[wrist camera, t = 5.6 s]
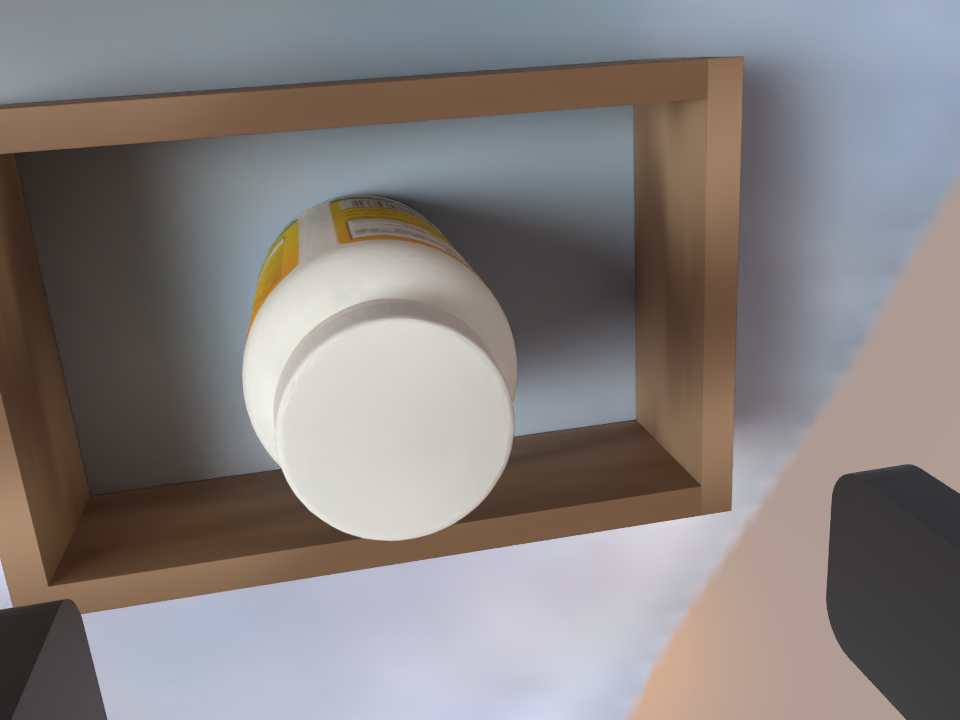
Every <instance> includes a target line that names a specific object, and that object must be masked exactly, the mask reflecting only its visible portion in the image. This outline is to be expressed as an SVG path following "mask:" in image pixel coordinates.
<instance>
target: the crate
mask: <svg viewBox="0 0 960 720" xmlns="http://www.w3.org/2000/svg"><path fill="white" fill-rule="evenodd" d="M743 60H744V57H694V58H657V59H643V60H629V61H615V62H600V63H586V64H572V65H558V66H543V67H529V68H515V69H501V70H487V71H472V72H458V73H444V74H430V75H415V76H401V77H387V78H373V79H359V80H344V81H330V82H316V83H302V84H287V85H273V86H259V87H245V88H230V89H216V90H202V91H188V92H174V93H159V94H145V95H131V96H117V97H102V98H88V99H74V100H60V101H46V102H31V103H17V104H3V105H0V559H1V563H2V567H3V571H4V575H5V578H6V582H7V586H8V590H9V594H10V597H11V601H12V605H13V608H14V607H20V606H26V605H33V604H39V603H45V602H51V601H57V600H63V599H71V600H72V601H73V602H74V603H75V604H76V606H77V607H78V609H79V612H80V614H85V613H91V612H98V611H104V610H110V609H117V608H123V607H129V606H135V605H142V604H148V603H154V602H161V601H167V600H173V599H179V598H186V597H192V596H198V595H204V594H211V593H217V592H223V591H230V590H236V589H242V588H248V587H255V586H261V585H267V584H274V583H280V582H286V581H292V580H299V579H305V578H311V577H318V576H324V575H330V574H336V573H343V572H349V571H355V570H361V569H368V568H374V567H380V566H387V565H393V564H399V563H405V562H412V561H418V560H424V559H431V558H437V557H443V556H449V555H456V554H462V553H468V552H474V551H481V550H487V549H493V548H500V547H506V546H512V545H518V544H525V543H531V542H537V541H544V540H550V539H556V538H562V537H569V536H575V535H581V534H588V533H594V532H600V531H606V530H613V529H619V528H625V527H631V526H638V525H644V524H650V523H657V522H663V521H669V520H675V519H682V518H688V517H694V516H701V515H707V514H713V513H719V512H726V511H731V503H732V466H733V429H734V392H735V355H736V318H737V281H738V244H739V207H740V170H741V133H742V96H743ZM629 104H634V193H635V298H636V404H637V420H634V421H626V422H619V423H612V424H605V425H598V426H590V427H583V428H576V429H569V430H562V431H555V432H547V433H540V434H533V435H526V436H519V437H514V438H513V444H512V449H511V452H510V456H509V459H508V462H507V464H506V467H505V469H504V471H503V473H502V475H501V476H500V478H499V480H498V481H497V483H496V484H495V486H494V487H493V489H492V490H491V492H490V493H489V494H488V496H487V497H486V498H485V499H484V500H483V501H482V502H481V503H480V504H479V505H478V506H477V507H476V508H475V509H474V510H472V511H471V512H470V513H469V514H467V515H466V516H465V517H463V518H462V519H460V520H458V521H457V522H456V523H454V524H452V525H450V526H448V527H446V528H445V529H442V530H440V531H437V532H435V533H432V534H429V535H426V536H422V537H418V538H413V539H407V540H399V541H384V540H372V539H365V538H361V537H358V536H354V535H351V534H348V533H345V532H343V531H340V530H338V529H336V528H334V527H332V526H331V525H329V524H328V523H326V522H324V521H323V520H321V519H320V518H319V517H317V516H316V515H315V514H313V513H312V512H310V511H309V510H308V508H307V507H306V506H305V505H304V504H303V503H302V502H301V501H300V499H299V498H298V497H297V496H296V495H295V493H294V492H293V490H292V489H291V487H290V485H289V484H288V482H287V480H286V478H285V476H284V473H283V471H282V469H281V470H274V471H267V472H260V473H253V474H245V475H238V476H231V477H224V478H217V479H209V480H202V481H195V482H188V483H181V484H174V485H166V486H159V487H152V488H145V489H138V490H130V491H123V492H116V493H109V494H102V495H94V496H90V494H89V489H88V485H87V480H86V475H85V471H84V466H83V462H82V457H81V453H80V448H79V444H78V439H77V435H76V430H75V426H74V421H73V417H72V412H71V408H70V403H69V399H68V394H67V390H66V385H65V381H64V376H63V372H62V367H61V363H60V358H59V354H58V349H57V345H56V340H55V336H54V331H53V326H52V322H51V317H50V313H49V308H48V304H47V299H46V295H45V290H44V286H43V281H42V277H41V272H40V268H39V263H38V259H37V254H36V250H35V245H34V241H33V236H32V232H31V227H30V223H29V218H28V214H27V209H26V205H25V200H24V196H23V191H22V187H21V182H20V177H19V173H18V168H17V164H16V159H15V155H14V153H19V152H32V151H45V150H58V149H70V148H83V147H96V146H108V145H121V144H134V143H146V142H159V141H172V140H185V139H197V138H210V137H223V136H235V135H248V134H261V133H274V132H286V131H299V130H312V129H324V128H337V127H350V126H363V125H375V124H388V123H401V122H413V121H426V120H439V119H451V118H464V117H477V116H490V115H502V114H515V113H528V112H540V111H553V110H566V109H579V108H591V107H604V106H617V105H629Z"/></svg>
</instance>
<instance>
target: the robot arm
mask: <svg viewBox="0 0 960 720" xmlns="http://www.w3.org/2000/svg"><path fill="white" fill-rule="evenodd" d="M831 505H832V506H831V522H830V541H829V557H828V576H827V593H826V602H827V611H828V616H829V620H830V624H831V627H832V629H833V632H834V635H835V637H836V639H837V641H838V643H839V645H840V646H841V648H842V650H843V651H844V652H845V654H846V655H847V656H848V658H850V660H851V661H852V662H853V663H854V664H855V665H856V666H857V667H858V668H859V669H860V670H861V671H862V672H863V674H864V675H865V676H866V677H867V678H868V679H869V680H870V681H871V682H872V683H873V684H874V685H875V687H876V688H878V689H879V691H880V692H881V693H882V694H883V695H884V696H885V697H886V698H887V699H888V700H889V702H891V704H892V705H893V706H894V707H895V708H896V709H897V710H898V711H899V712H900V713H901V714H902V715H903V716H904V718H905V719H906V720H960V494H959V493H958V492H956V491H955V490H953V489H951V488H950V487H948V486H947V485H945V484H944V483H942V482H941V481H939V480H937V479H936V478H934V477H933V476H931V475H930V474H928V473H927V472H925V471H924V470H922V469H920V468H918V467H917V466H914V465H910V464H908V465H900V466H893V467H887V468H881V469H875V470H869V471H862V472H856V473H850V474H846V475H843V476H842V477H840V478H839V480H838V481H837V482H836V484H835V486H834V490H833V494H832V504H831ZM0 720H107V716H106V712H105V708H104V704H103V700H102V696H101V692H100V688H99V684H98V680H97V676H96V672H95V668H94V664H93V660H92V656H91V652H90V648H89V644H88V640H87V636H86V632H85V628H84V624H83V621H82V617H81V614H80V612H79V609H78V607H77V606H76V604H75V603H74V602H73V601H72V600H71V599H63V600H57V601H51V602H45V603H39V604H33V605H26V606H20V607H14V608H8V609H2V610H0Z"/></svg>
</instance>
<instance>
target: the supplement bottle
mask: <svg viewBox="0 0 960 720" xmlns="http://www.w3.org/2000/svg"><path fill="white" fill-rule="evenodd" d="M242 381H243V394H244V399H245V404H246V408H247V412H248V415H249V418H250V420H251V423H252V426H253V428H254V430H255V432H256V434H257V436H258V438H259V440H260V441H261V443H262V444H263V446H264V447H265V449H266V450H267V452H268V453H269V454H270V456H271V457H272V458H273V459H274V461H275V462H276V463H277V464H278V465H279V466H280V467H281V468H282V471H283V473H284V476H285V478H286V480H287V482H288V484H289V485H290V487H291V489H292V490H293V492H294V493H295V495H296V496H297V497H298V498H299V499H300V501H301V502H302V503H303V504H304V505H305V506H306V507H307V508H308V510H309V511H310V512H312V513H313V514H315V515H316V516H317V517H319V518H320V519H321V520H323V521H324V522H326V523H328V524H329V525H331V526H332V527H334V528H336V529H338V530H340V531H343V532H345V533H348V534H351V535H354V536H358V537H361V538H365V539H372V540H384V541H399V540H407V539H413V538H418V537H422V536H426V535H429V534H432V533H435V532H437V531H440V530H442V529H445V528H446V527H448V526H450V525H452V524H454V523H456V522H457V521H458V520H460V519H462V518H463V517H465V516H466V515H467V514H469V513H470V512H471V511H472V510H474V509H475V508H476V507H477V506H478V505H479V504H480V503H481V502H482V501H483V500H484V499H485V498H486V497H487V496H488V494H489V493H490V492H491V490H492V489H493V487H494V486H495V484H496V483H497V481H498V480H499V478H500V476H501V475H502V473H503V471H504V469H505V467H506V464H507V462H508V459H509V456H510V452H511V449H512V444H513V438H514V409H513V400H514V396H515V391H516V384H517V357H516V349H515V343H514V339H513V335H512V331H511V328H510V325H509V323H508V320H507V318H506V316H505V314H504V312H503V310H502V308H501V306H500V305H499V303H498V301H497V300H496V298H495V297H494V295H493V294H492V292H491V291H490V289H489V288H488V287H487V286H486V285H485V283H484V282H483V280H482V279H481V278H480V277H479V276H478V275H477V274H476V272H475V271H474V270H473V269H472V268H471V267H470V265H469V264H468V263H467V262H466V261H465V259H464V258H463V257H462V256H461V255H460V254H459V252H458V251H457V250H456V249H455V248H454V246H453V245H452V244H451V243H450V242H449V240H448V239H447V238H446V237H445V236H444V235H443V233H442V232H441V231H440V230H439V229H438V228H437V227H436V226H435V225H434V224H433V223H432V222H430V221H429V220H428V219H427V218H426V217H424V216H423V215H422V214H421V213H419V212H417V211H416V210H414V209H412V208H410V207H408V206H406V205H404V204H402V203H400V202H397V201H394V200H391V199H387V198H383V197H377V196H368V195H353V196H344V197H338V198H334V199H330V200H327V201H324V202H322V203H320V204H317V205H315V206H313V207H311V208H309V209H308V210H306V211H304V212H303V213H301V214H300V215H299V216H297V217H296V218H295V219H294V220H292V221H291V222H290V223H289V224H288V225H287V226H286V227H285V228H284V229H283V230H282V231H281V233H280V234H279V235H278V236H277V238H276V239H275V241H274V242H273V244H272V245H271V247H270V249H269V251H268V253H267V255H266V257H265V259H264V262H263V265H262V267H261V271H260V274H259V278H258V283H257V289H256V293H255V297H254V303H253V309H252V315H251V320H250V326H249V330H248V335H247V340H246V345H245V350H244V358H243V368H242Z"/></svg>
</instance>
